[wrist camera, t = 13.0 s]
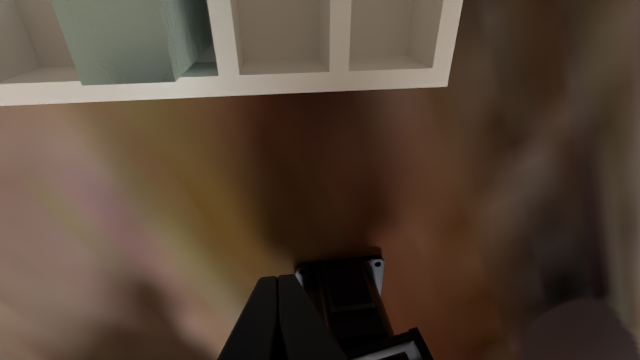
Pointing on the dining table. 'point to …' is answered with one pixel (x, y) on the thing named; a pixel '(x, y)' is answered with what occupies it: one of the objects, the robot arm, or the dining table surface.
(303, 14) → the rack
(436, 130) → the dining table surface
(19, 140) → the dining table surface
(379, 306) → the robot arm
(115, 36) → the metal block
